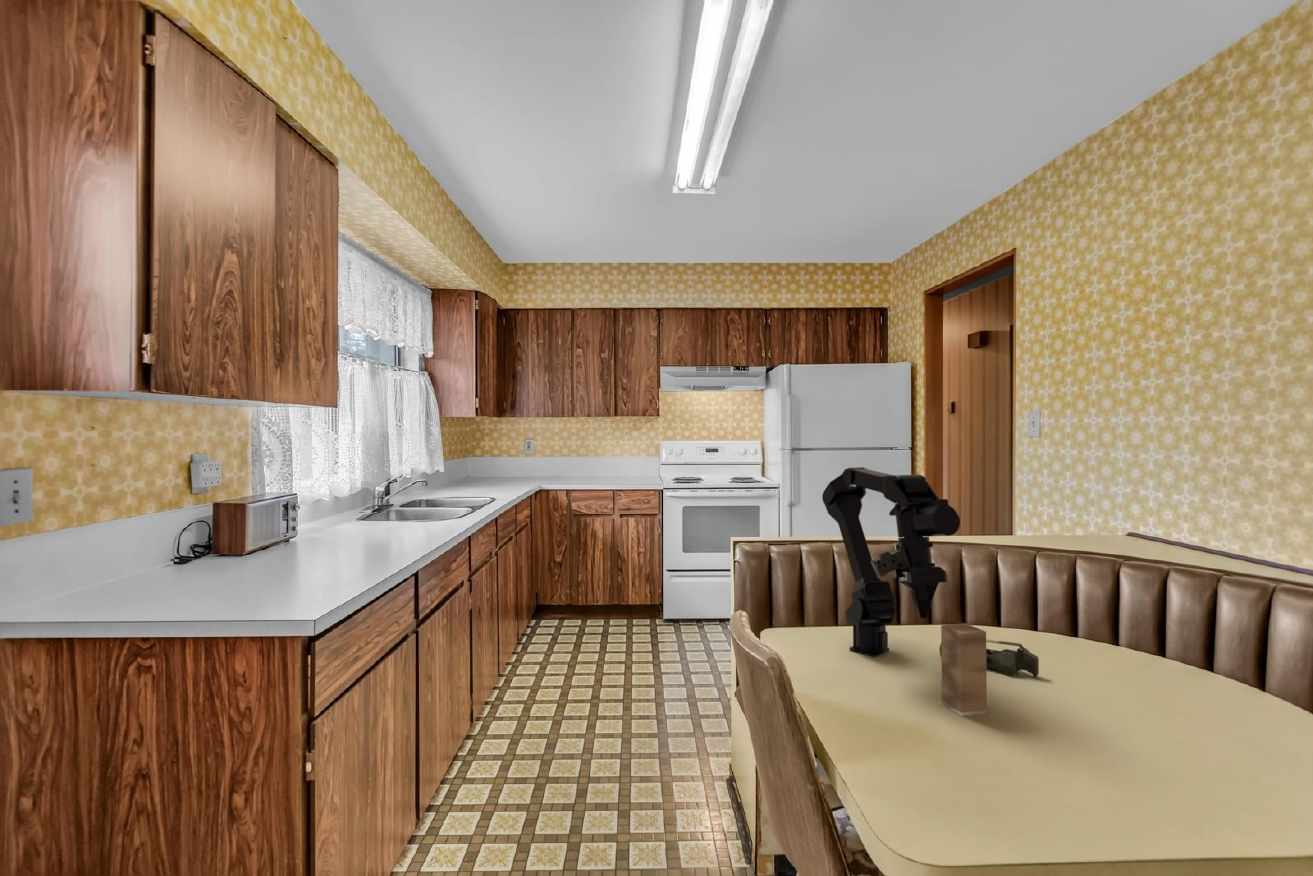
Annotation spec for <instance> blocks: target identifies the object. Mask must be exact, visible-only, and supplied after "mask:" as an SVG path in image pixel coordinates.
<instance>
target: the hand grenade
mask: <svg viewBox="0 0 1313 876" xmlns="http://www.w3.org/2000/svg"><path fill="white" fill-rule="evenodd" d="M986 643H993V644H999V645H1008V646H1015V647H1019V648H1017V649H1016V650H1013V649H1008V648H1004V649H1002V650H995V649H989V648H986V668H991V669H994V670H998V671H1000V672H1001V673H1002V674H1004V673H1006V674H1005V675H1009V674H1010V676H1017V675H1018V673H1019V671H1026V672H1027V673H1030V674H1031V675H1032V678H1033V679H1037V677H1038V675H1040V674H1039V673H1040V672H1039V671H1040V670H1039V669H1040V668H1039V667H1040V666H1039V665H1040V664H1039V663H1040V662H1039V661H1040V660H1039V659H1040V657H1039V656H1037V655H1036V654H1033V653H1032V652H1030V650H1028V648H1026V647H1024V646H1023V644H1022V643H1019V642H1011V641H1002V640H995V639H989V638H988V639H987V638H986ZM939 656H940V658H941V643H940V644H939ZM940 660H942V658H941V659H940Z"/></svg>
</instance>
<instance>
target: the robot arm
mask: <svg viewBox="0 0 1313 876" xmlns="http://www.w3.org/2000/svg"><path fill="white" fill-rule="evenodd" d="M867 489H868V490H870V491H875V492H878V493H881V494H883V497H884V498H885V499H886V500H888V501H890V502H891V503H893V504H894V507H893V508H892V509H890V511H889V516H890V517H891V516H893V517H894V516H895V520H896V521H895V522H896V529H897V530H896V531H897V538H898V542H897V543H896V544H895V550H894V551H892V552H889V551H884V552H883V553H880V554H879V555H878V557H876V558H874V559H872V555H871V552H870V549H869V545H868V542H867V539H866V536H865V532H864V530H863V525H862V523H861V521H860V514H861V511H862V508H863V503H862V500H863V498H864V497H865V495H866V494H867ZM821 495H822V498H821V499H822V502H823V504H824V507H825V508H826V511H827V514H828V515H829V516H830V517H831V518H832V519H833V520H834V521H835V522H836V523H837V524H838V527H839V530H840V534H841V536H842V542H843V544H844V548H845V551H846V555H847V558H848V561H849V566H850V568H851V572H852V575H853V578H854V586H853V588H852V592H851V598H852V602H851V604H850V605H849V607H848V608H847V609H846V610H845V617H846V618H845V619H846V621H847V622H848V623H850V624H851V625H852V642H853V643H852V646H850V647H848V648H849V651H851V652H855V653H858V654H859V653H860V654H864V655H867V656H871V657H875V658H877V657H879V656H881V655H883V654H885V653H887V652H889V651H890V647H889V639H888V638H889V636H888V635H889V633H888V631H886V629H887V628H886V627H887V625H892V624H893V620H894V616H895V613H896V607H897V605H896V602H895V599H896V597H895V596H894V594H893V592H892V588H891V587H892V586H891V584H890V582H889V581H888V580H886V581H885V580H884V581H883V580H882V579H881V578H880V577H883V576H887V574H888V573H891V572H892V574H893V578H894V579H900V578H903V580H900V581H899V582H900V584H901V585H903V586H904V587H905V588H907V589H908V590H909V592H910V594H911V595H910V596H911V598H912V600H913V604H914V606H915V609H916V611H917V614H918V617H919V618H920V619H927V617H928V614H929V611H930V608H931V605H932V602H933V598H934V597H935V594H936V591H937V588H938V586H939V584H940V583H947V582H948V577H947V571H946V570H945V569H943V568H942V567H941V566H939V565H938V566H936V563H935V562H933V559H932V552H931V551H932V549H931V548H933V547H934V546H933V544H934V543H933V541H930V537H947V536H953V535H954V534H956V533H957V532H958V531H959V529H960V525H961V518H960V516H959V514H958V512H957V511H956V509H955V508H954V507H952V506H951V505H949V500H948V499H947V498H942V499H940V498H939V496H938V495H937V494H936V493H935V491H934V490H933V489H932V487H931V486H930V484H929V482H928V481H927V478H926V477H925V476H924V475H922V474H898V475H897V474H894V475H893V474H889V473H885V472H882V471H876V470H871V469H868V468H865V467H847V468H845V469H844V470H843V472H842V473H841V474H840V475H839V476H837V477H835V478H834V479H833V480H832V481H829V482H828V485H827V486H826V487H825V489H824V491H823V493H822V494H821Z"/></svg>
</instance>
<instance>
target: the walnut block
mask: <svg viewBox="0 0 1313 876" xmlns="http://www.w3.org/2000/svg"><path fill="white" fill-rule="evenodd" d="M940 627H941V629H940V631H941V632H940V633H941V635H940V637H941V638H940V639H941V641H940V644H941V656H940V658H942V659H941V704H942V705H943V706H944V705H945V706H944V707H946V708H947V709H949V710H951V711H952V712H953V713H955V712H956V713H955V714H957V715H959V716H961V717H965V716H964V715H967V716H975V714H977V715H985V714H988V712H987V710H988V705H987V704H988V703H987V702H988V701H987V698H988V696H987V694H988V693H987V691H988V690H987V682H988V681H987V667H986V649H987V642H986V639H987V631H985V630H983V629H980V628H978V627H976V626H974V625H970V624H969V623H967V622H966V623H964V622H963V623H954V624H952V623H951V624H941V626H940ZM972 714H973V715H972Z"/></svg>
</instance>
